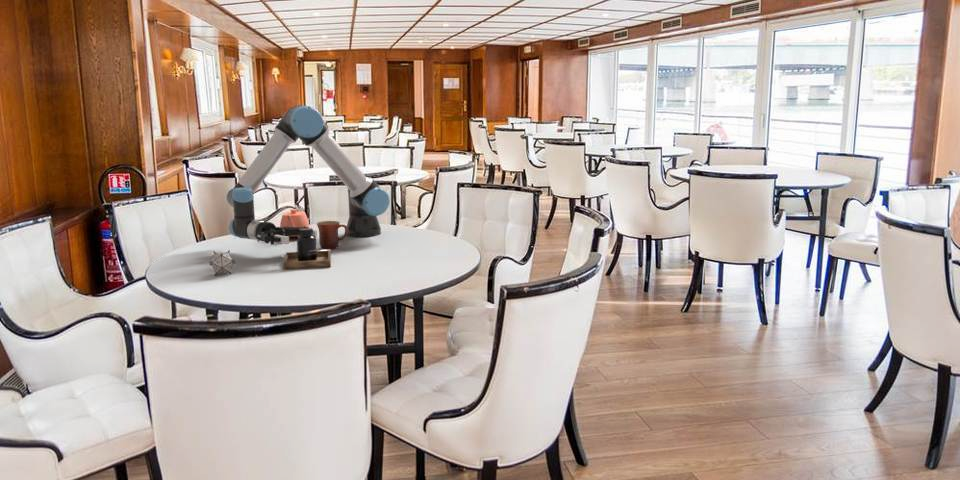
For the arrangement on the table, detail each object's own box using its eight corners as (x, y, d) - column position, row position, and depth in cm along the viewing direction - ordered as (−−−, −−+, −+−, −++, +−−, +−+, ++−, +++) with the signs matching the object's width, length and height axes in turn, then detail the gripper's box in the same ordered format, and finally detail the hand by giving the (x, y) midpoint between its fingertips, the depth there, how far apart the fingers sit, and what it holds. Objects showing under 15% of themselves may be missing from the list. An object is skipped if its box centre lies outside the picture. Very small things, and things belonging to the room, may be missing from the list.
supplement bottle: (314, 263, 253) (312, 230, 251) (295, 263, 253) (293, 230, 251) (319, 259, 260) (317, 227, 257) (300, 259, 260) (298, 227, 257)
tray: (330, 256, 266) (330, 250, 266) (330, 267, 251) (330, 260, 250) (286, 259, 263) (286, 252, 262) (284, 269, 248) (283, 262, 247)
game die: (226, 285, 241) (224, 267, 234) (204, 276, 242) (201, 257, 235) (241, 268, 247) (240, 249, 240) (220, 258, 248) (218, 239, 241)
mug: (315, 250, 277) (313, 224, 275) (322, 245, 285) (320, 220, 283) (344, 251, 276) (343, 225, 274) (351, 246, 284) (350, 221, 282)
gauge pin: (330, 253, 271) (330, 248, 270) (330, 255, 269) (330, 249, 268) (298, 255, 268) (298, 250, 268) (298, 256, 267) (297, 251, 266)
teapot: (286, 233, 311) (284, 206, 308) (313, 232, 311) (311, 205, 309) (275, 242, 291) (273, 213, 289) (304, 242, 292) (302, 213, 289)
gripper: (288, 235, 278) (327, 241, 267) (236, 247, 258) (276, 254, 246) (287, 216, 277) (326, 221, 265) (234, 226, 256) (275, 232, 245)
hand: (302, 237), depth 256 cm, fingers open, 13 cm apart
